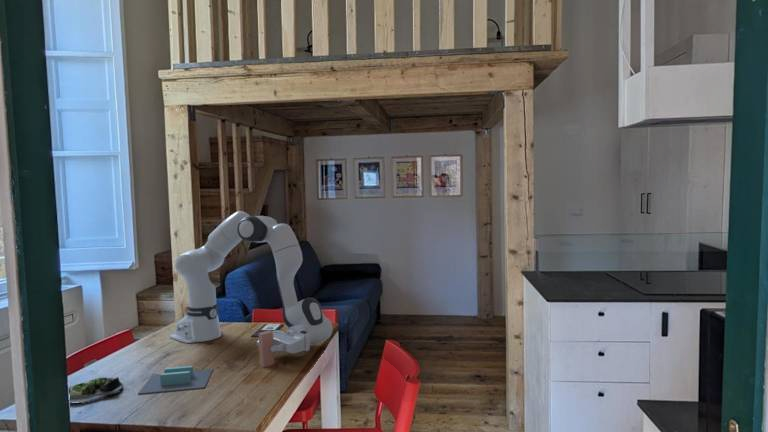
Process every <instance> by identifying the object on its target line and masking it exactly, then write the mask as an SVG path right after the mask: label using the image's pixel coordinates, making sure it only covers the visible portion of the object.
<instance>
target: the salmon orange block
mask: <svg viewBox="0 0 768 432" xmlns="http://www.w3.org/2000/svg"><path fill="white" fill-rule="evenodd" d="M258 336H259V337H258V341H259V346H258V353H259V354H258V358H259V367H261V368H266V367H269V366H273V365H275V351H274V352H272V351H270V346H273V332H272V331H265V332H261V333H258Z"/></svg>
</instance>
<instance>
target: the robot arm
mask: <svg viewBox="0 0 768 432" xmlns="http://www.w3.org/2000/svg"><path fill="white" fill-rule="evenodd" d="M241 241H245V242H248V243H258V244H259V243H268V245H269V246H270V248H271V252H272V255H273V258H274V262H275V269H276V280H277V285H278V291H279V295H280V300H281V304H282V318H283V320H282V321H283V322H284V325H286V327H287V329H286V331H282V330H280V329H279V330H275V331H272V332H273V346H270V351H272V352H274V353H275V352H280V351H281V352H285V353H288V354H298V353H301V352H309V351H310V349H311V348H310V346H311V345H315V344H316V345H317V344H319V343H322V342H324V341H326V340H328V339H329V338H330V337H331V336H332V334H333V324H332V321H331V320H330V319H329V318H327V317H326V315H325V314H324V312H323V309H322V306H321V304H320V302H319V301H318V300H317V299H316V298H314V297H312V296H310V297H306V298H304V299H302V300H300V301H299V300H298V297H297V293H296V290H295V289H296V288H295V285H294V280H295V276H296V275H297V272H298V270H299V269H300V268H301V266H302V264H303V261H304V259H303V251H302V249H301V246H300V243H299V241H298V239H297V236H296V233H294V231H293V228H291V225H289V224H287V223H281V222H280V221H279V220H278V219H277V218H275V217H273V216H268V215H267V216H266V215H265V216H264V215H250V214H249V213H247V212H245V211H242V210H238V211H235V212H234V213H232V214H231V215H230V216H228V217H226V219H224V220H223V221H222V222H221V223H220V224H219V225H218V226H217V227H216V228H215V229H213V231H211V232H210V233H209V235H208V237H207V240H206V243H205V244H204V245H203V246H201V247H199V248H195V249H191V250H187V251H185V252H183V253H181V254H179V256H177V257H176V260H175V269H176V271H177V273H178V274H179V275H181V276H182V278H183V279H184V281H185V284H186V287H187V291H188V303H189V304H188V305H189V306H185V308H184V310H185V311H186V314H185V316H183V317H182V318H181V319H180V320H178V321H177V323H176V325H175V332H174V333H172V334H170V335H169V336H170V337H169V338H170V339H173V340H176V341H179V342H182V343H184V344H185V343H186V344H193V343H200V342H208V341H212V340H216V339H219V338H220V337H221V336H222V335H223V334H222V328H221V327H220V326H221V325H220V320H219V314H218V312H219V311H218V308H219V307H218V303H217V294H216V293H217V292H216V286H215V284H214V283H212V281H211V280H210V276H209V273H210V272H214V271H215V270H217V269H219V268H220V267H221V266H223V264H224V262H225V259H226V257H227V256H228V254H229V253H230V252H231V251H232V250H233V249H234V248H235V247H236V246H237V245H238V244H239V243H241ZM256 346H257V347H259V340H257V341H256Z"/></svg>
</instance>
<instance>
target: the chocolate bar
mask: <svg viewBox="0 0 768 432" xmlns="http://www.w3.org/2000/svg"><path fill="white" fill-rule="evenodd" d="M284 325H285V323H270V324H269V323H265V324H263V325H262V326H261V327H260V328H259V329H257V330H256V331H255V332H253V333H252V334H251V335H250V338H259V336H258V333H261V332H265V331H275V330H280V329H281V328H282V327H284Z"/></svg>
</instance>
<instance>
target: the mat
mask: <svg viewBox="0 0 768 432" xmlns="http://www.w3.org/2000/svg"><path fill="white" fill-rule="evenodd" d="M213 370H214V369H213V368H210V369H201V370H199V369H198V370H193V371H194V376H193V377H191V382H190V383H184V384H173V385H163V386H161V381H160V375H161V374H162V373H154V374H152V375H150V377H149V378H148V380H147V381H146V382H145V384H144V385H143V386H142V388H140V390H139V392H138V394H137V395H147V394H160V393H170V392H180V391H188V390H189V391H190V390H200V389H205V388H206V386H207V384H208V382H209V380H210V377H211V375H212V372H213Z"/></svg>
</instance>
